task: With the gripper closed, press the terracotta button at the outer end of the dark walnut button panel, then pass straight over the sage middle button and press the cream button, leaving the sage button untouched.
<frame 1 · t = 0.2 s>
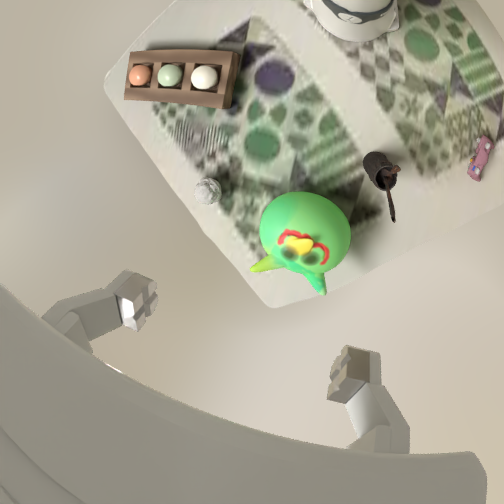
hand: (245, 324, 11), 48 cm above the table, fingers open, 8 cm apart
cream button: (205, 77, 44), point 5 cm above the table, slide at 0.0 cm
toy bird: (307, 221, 59), on the table
terracotta button: (140, 75, 46), point 5 cm above the table, slide at 0.0 cm
button panel: (182, 76, 49), on the table
sage button: (170, 75, 45), point 5 cm above the table, slide at 0.0 cm
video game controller: (475, 155, 39), on the table
butter churn: (378, 159, 48), on the table
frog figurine: (215, 185, 61), on the table
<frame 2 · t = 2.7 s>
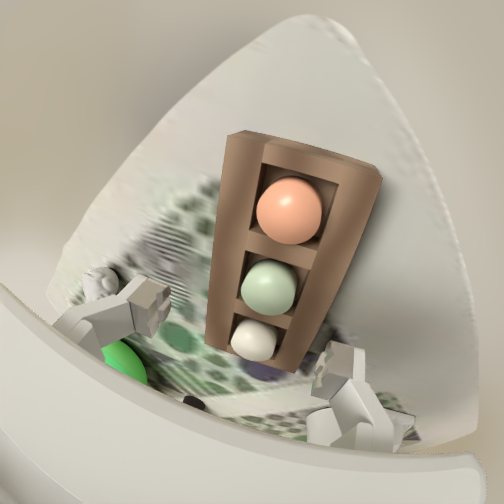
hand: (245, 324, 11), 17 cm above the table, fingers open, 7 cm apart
cream button: (254, 339, 30), point 5 cm above the table, slide at 0.0 cm
toy bird: (125, 349, 52), on the table
terracotta button: (290, 209, 21), point 5 cm above the table, slide at 0.0 cm
button panel: (279, 260, 29), on the table
sage button: (269, 287, 25), point 5 cm above the table, slide at 0.0 cm
butter churn: (199, 403, 55), on the table
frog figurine: (115, 275, 39), on the table
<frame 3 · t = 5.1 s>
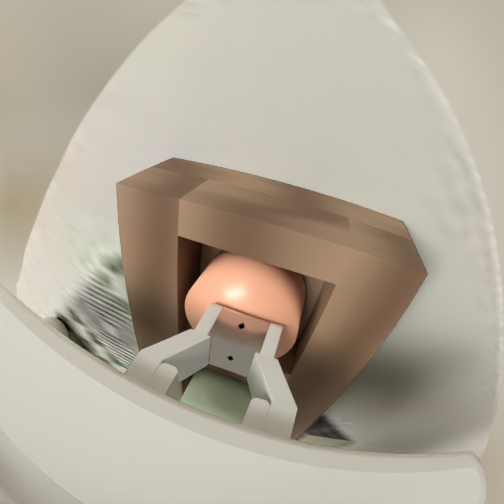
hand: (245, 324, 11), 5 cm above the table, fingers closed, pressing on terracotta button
terracotta button: (247, 305, 12), point 4 cm above the table, slide at 1.1 cm, touching gripper
button panel: (244, 348, 19), on the table
sage button: (222, 400, 15), point 5 cm above the table, slide at 0.0 cm
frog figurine: (65, 325, 29), on the table
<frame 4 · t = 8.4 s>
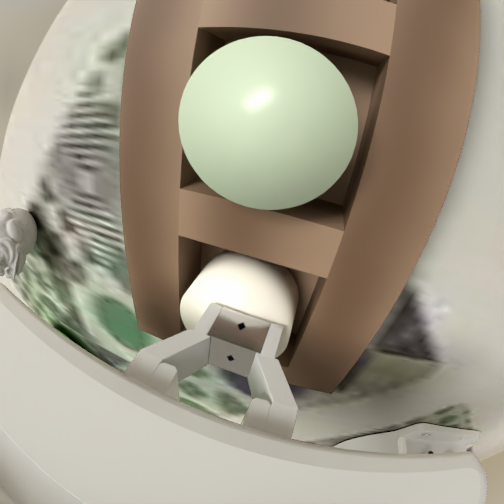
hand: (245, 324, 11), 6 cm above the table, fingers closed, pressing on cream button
cream button: (240, 308, 12), point 4 cm above the table, slide at 0.5 cm, touching gripper
button panel: (293, 115, 11), on the table
sage button: (272, 120, 7), point 5 cm above the table, slide at 0.0 cm
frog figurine: (35, 223, 22), on the table
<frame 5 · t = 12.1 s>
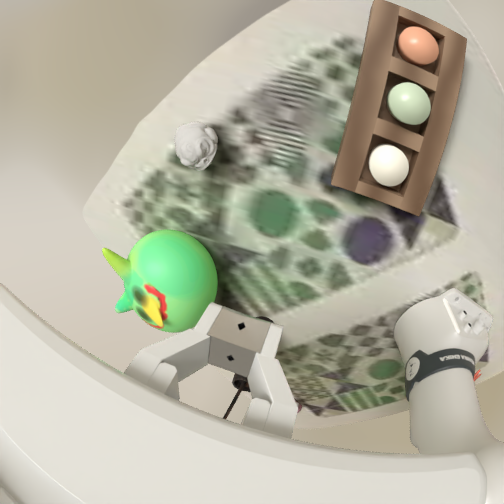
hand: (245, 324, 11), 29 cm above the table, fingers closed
cream button: (387, 164, 28), point 3 cm above the table, slide at 1.3 cm
toy bird: (186, 259, 49), on the table
terracotta button: (417, 46, 20), point 3 cm above the table, slide at 1.3 cm
button panel: (398, 103, 27), on the table
sage button: (408, 103, 23), point 5 cm above the table, slide at 0.0 cm
butter churn: (268, 328, 52), on the table
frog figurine: (208, 140, 37), on the table
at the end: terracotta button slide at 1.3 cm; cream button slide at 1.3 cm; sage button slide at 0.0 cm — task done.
